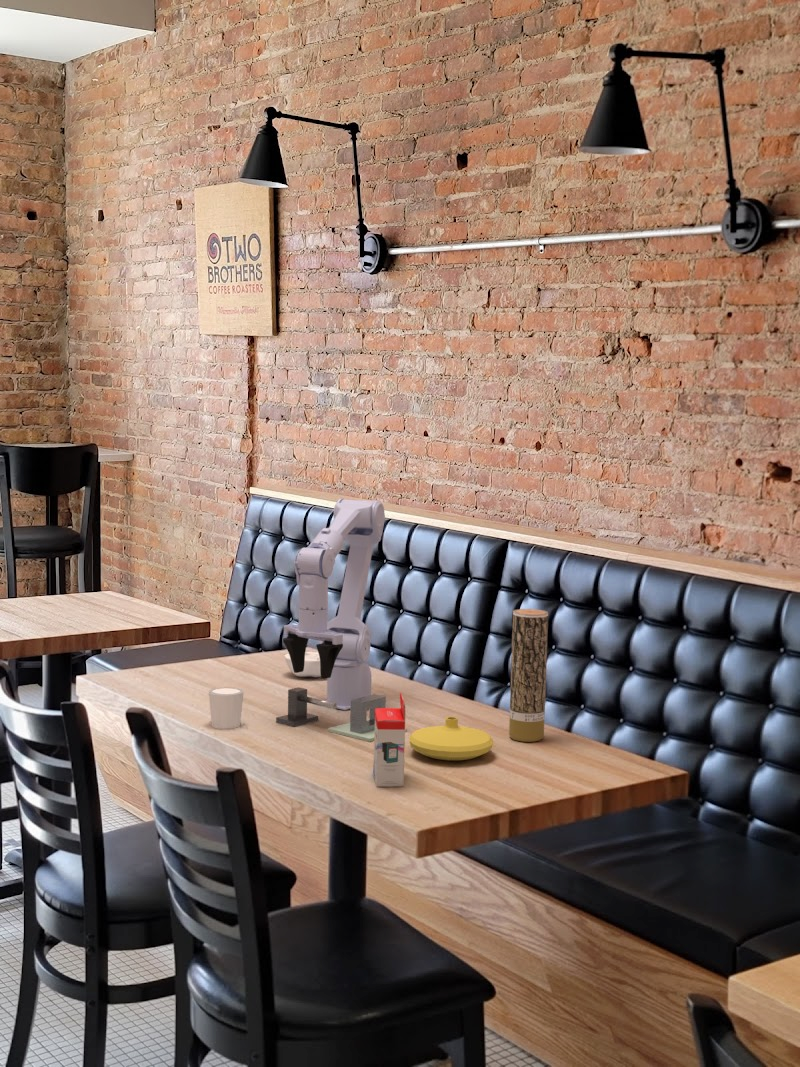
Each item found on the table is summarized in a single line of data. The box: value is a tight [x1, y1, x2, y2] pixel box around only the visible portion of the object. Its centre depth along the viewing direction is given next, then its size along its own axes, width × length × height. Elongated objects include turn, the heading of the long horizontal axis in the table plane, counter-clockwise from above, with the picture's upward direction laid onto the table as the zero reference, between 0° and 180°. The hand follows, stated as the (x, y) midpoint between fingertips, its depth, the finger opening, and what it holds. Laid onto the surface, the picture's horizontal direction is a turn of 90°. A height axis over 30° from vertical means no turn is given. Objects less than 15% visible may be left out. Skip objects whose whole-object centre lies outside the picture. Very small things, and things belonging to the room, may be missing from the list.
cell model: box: [283, 650, 321, 678], centre depth 310 cm, size 10×12×7 cm
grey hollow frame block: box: [349, 694, 387, 734], centre depth 262 cm, size 7×3×6 cm, turn 140°
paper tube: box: [508, 608, 549, 743], centre depth 260 cm, size 7×7×25 cm
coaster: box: [327, 718, 408, 743], centre depth 264 cm, size 11×11×1 cm
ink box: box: [372, 692, 406, 788], centre depth 231 cm, size 8×5×15 cm, turn 5°
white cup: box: [208, 687, 245, 730], centre depth 265 cm, size 7×7×7 cm
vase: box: [408, 716, 495, 761], centre depth 248 cm, size 16×16×7 cm
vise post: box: [275, 686, 337, 728], centre depth 267 cm, size 7×13×7 cm, turn 50°
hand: (312, 675), depth 268 cm, fingers open, 7 cm apart
